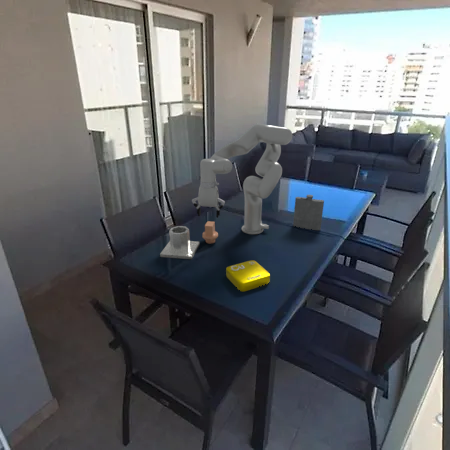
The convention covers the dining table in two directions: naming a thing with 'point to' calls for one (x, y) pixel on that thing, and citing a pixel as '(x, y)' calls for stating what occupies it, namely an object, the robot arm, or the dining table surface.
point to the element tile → (247, 275)
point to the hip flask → (308, 212)
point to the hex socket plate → (180, 244)
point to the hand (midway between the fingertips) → (208, 216)
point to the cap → (210, 232)
